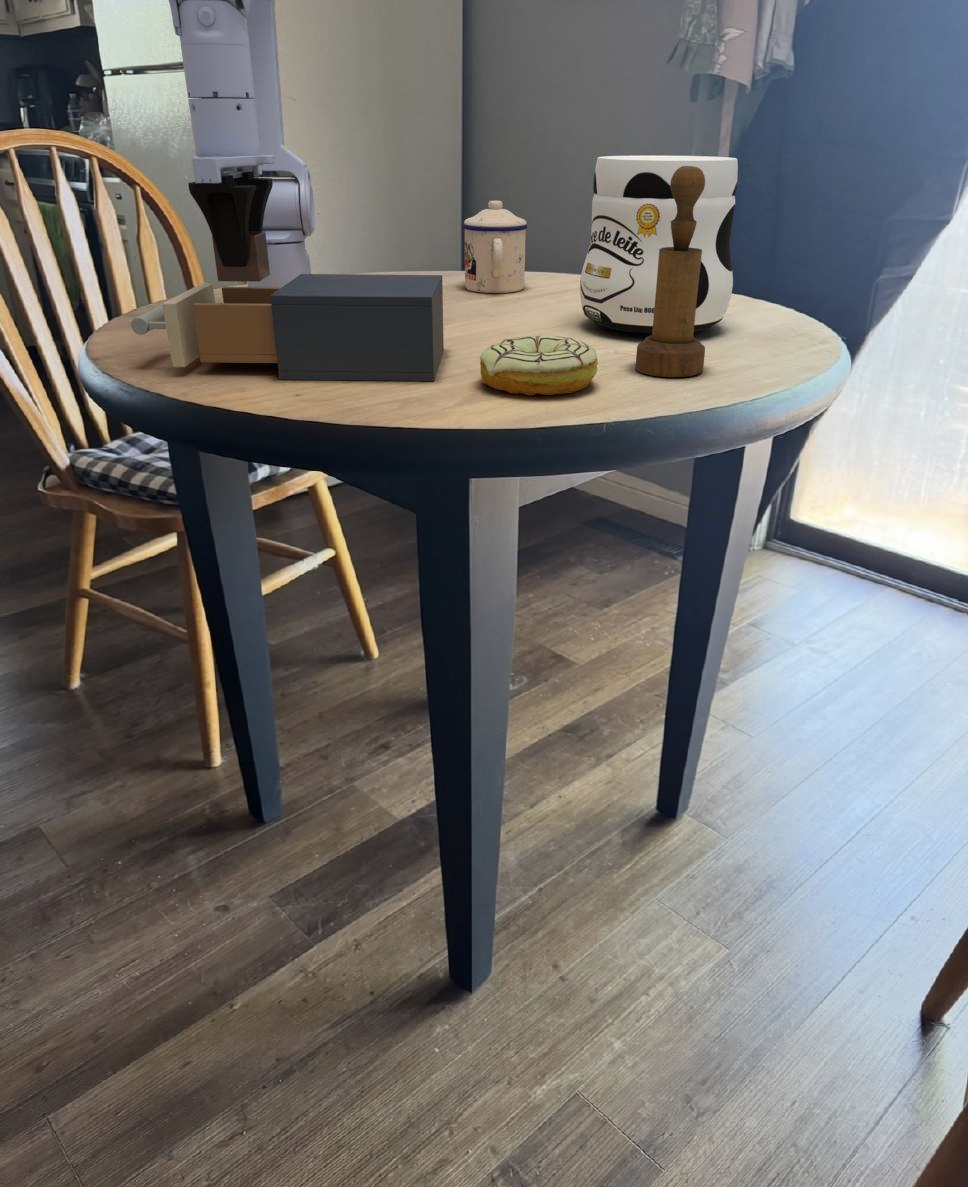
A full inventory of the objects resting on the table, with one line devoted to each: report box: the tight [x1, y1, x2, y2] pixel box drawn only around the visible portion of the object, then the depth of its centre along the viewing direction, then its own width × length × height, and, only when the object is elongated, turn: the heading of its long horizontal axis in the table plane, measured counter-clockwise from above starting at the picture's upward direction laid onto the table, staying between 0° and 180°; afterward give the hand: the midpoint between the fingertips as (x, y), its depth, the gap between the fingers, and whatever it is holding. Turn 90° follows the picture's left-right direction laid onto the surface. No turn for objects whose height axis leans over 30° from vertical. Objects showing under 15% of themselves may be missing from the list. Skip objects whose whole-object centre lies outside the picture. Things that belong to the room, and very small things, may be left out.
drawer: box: [130, 282, 282, 368], centre depth 86 cm, size 18×11×6 cm, turn 88°
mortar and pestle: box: [635, 166, 706, 378], centre depth 82 cm, size 7×6×18 cm
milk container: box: [579, 154, 739, 335], centre depth 99 cm, size 17×17×18 cm
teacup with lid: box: [462, 200, 528, 294], centre depth 123 cm, size 12×9×12 cm
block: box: [211, 231, 270, 282], centre depth 83 cm, size 4×4×4 cm
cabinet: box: [270, 273, 445, 382], centre depth 86 cm, size 15×13×8 cm
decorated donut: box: [479, 335, 599, 396], centre depth 80 cm, size 10×11×4 cm
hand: (241, 262), depth 83 cm, fingers closed on block, 4 cm apart
